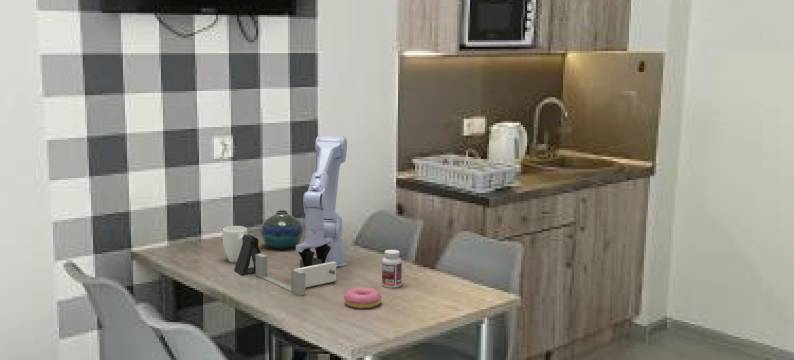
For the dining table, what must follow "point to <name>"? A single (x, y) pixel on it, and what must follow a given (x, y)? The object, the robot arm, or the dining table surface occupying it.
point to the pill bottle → (391, 269)
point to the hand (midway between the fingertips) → (314, 269)
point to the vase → (281, 230)
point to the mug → (233, 241)
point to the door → (319, 273)
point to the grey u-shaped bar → (296, 281)
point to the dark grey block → (314, 262)
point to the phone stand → (247, 255)
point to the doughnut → (362, 297)
